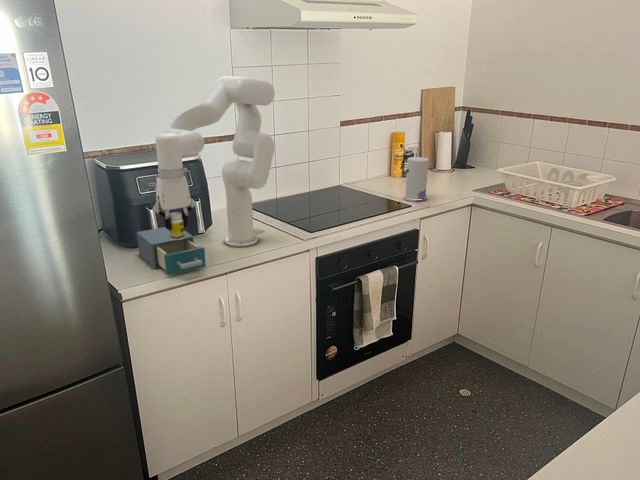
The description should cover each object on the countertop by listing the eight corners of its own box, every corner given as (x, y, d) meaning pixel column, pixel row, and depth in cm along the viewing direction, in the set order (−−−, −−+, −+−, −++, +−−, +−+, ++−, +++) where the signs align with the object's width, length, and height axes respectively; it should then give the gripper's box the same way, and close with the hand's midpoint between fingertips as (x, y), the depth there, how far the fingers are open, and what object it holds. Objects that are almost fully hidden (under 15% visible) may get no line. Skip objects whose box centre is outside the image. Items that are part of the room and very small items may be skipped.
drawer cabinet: (195, 259, 196) (193, 236, 192) (154, 268, 188) (151, 244, 185) (178, 247, 208) (176, 224, 204) (139, 255, 200) (136, 232, 196)
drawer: (212, 271, 183) (211, 252, 181) (173, 281, 176) (171, 261, 174) (188, 254, 198) (187, 236, 196) (151, 262, 191) (149, 243, 188)
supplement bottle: (183, 240, 182) (181, 216, 179) (169, 240, 182) (166, 216, 178) (186, 235, 186) (183, 211, 183) (172, 235, 186) (169, 211, 183)
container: (404, 196, 277) (407, 156, 270) (424, 197, 276) (428, 156, 268) (404, 201, 268) (407, 160, 260) (425, 202, 267) (429, 161, 259)
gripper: (191, 168, 183) (196, 220, 190) (141, 174, 174) (147, 229, 181) (200, 172, 177) (205, 226, 184) (149, 179, 168) (155, 235, 175)
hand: (176, 227), depth 182 cm, fingers closed on supplement bottle, 4 cm apart
